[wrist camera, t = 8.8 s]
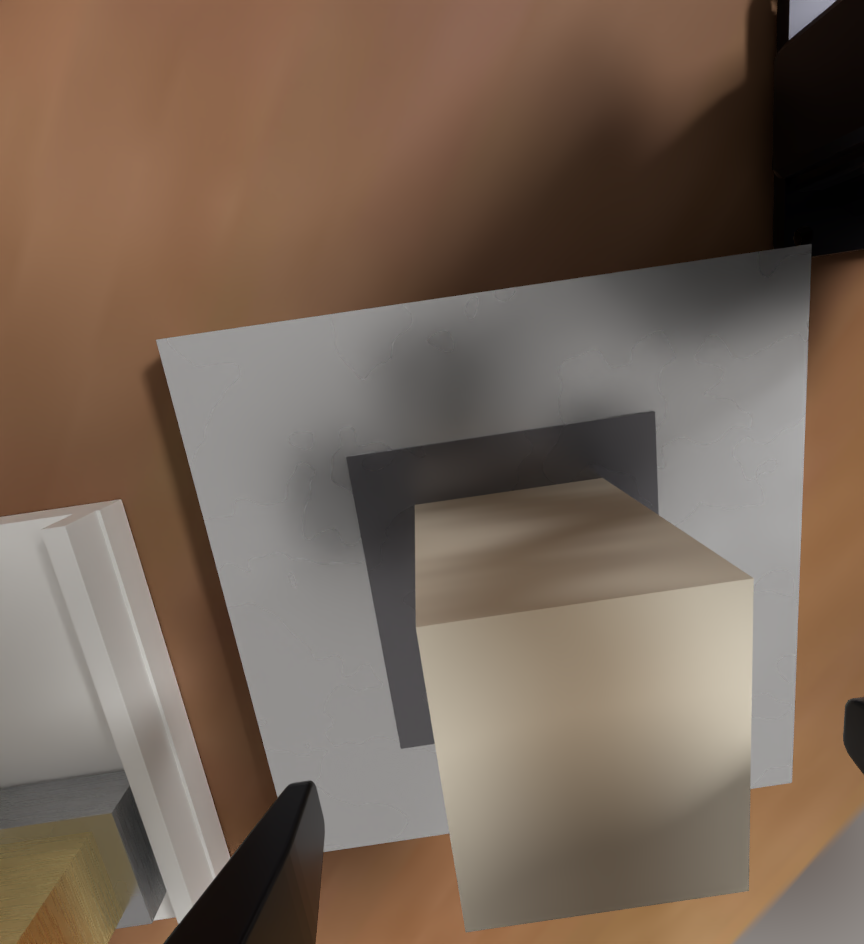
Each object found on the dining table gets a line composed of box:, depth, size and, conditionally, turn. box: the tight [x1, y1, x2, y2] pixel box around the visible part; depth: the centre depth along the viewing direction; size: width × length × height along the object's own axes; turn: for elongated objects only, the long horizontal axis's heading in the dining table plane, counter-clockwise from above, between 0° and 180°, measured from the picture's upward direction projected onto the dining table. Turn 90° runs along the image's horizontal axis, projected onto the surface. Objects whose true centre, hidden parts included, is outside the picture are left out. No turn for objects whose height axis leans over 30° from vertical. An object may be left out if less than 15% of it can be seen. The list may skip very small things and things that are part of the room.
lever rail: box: [0, 499, 230, 924], centre depth 15 cm, size 7×14×2 cm, turn 8°
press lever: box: [0, 770, 167, 944], centre depth 13 cm, size 4×4×6 cm
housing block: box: [415, 478, 754, 932], centre depth 11 cm, size 5×6×6 cm
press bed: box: [156, 244, 812, 852], centre depth 14 cm, size 16×16×1 cm
